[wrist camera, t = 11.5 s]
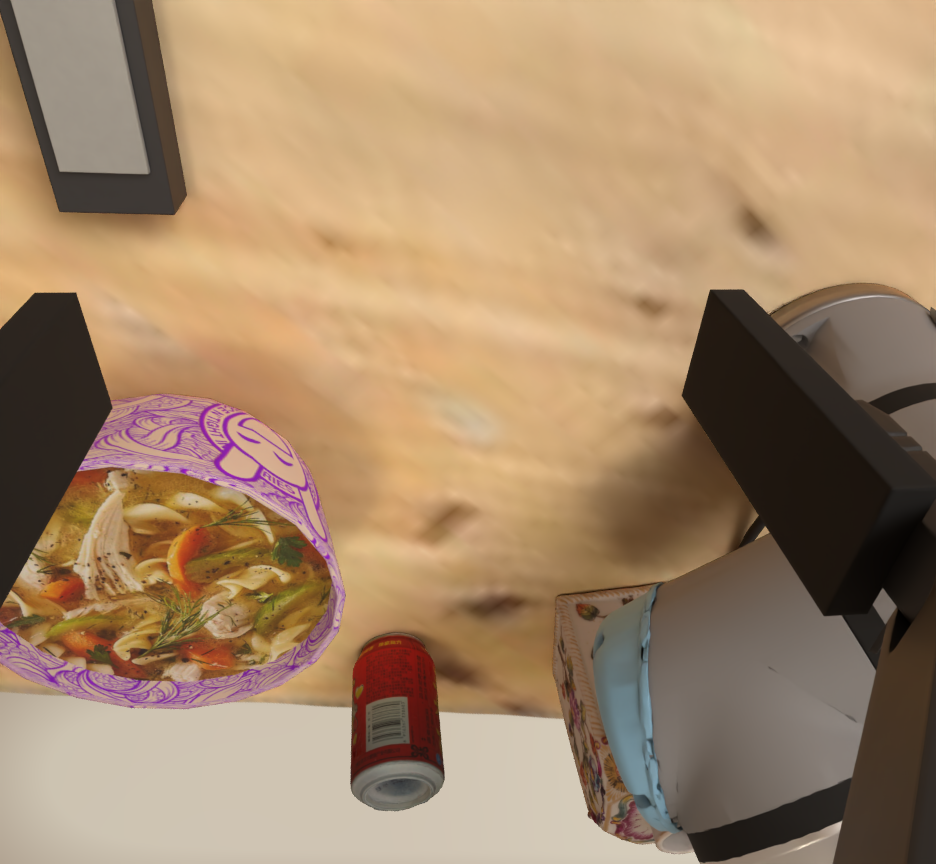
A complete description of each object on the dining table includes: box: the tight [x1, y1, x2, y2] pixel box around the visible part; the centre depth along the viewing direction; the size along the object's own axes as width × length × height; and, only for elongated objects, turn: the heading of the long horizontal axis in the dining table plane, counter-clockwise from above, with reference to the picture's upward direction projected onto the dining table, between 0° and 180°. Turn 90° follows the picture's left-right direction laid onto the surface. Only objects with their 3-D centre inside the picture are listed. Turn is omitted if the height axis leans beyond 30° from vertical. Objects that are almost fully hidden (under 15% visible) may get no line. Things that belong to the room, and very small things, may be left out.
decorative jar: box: [553, 584, 695, 854], centre depth 55 cm, size 12×12×18 cm
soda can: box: [350, 633, 445, 811], centre depth 55 cm, size 7×7×12 cm
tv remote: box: [0, 0, 187, 215], centre depth 28 cm, size 17×5×3 cm, turn 176°
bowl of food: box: [0, 394, 346, 709], centre depth 41 cm, size 20×20×12 cm
